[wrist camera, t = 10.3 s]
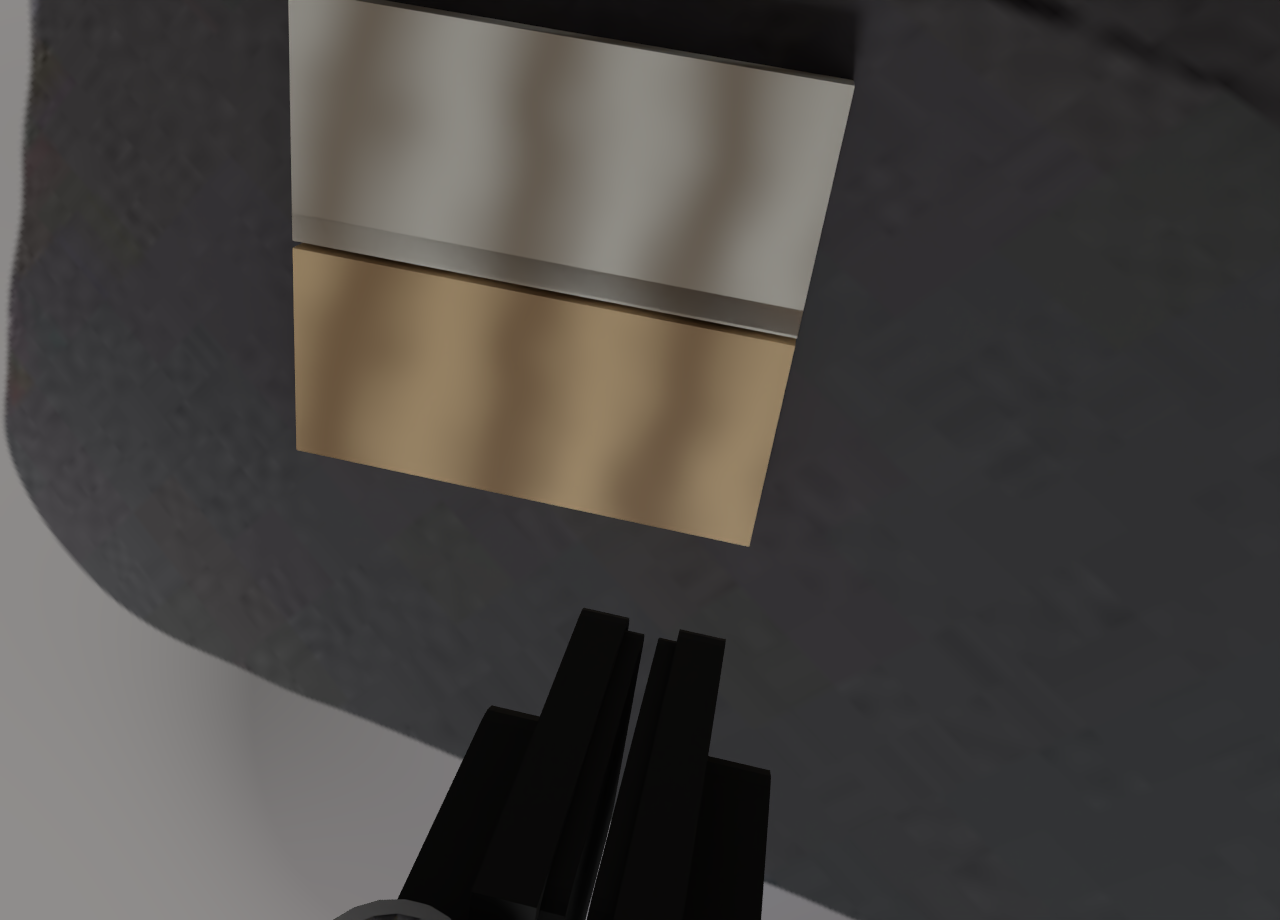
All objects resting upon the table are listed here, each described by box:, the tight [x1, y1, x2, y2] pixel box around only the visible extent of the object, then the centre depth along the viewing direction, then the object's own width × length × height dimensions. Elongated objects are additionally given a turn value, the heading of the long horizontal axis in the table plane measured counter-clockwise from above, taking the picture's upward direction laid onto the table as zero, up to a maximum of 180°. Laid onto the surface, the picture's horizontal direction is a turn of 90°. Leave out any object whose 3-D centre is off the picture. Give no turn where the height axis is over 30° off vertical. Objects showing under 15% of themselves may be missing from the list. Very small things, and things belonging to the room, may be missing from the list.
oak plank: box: [293, 243, 796, 547], centre depth 41 cm, size 20×9×2 cm, turn 81°
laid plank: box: [289, 0, 855, 339], centre depth 37 cm, size 20×9×2 cm, turn 81°
